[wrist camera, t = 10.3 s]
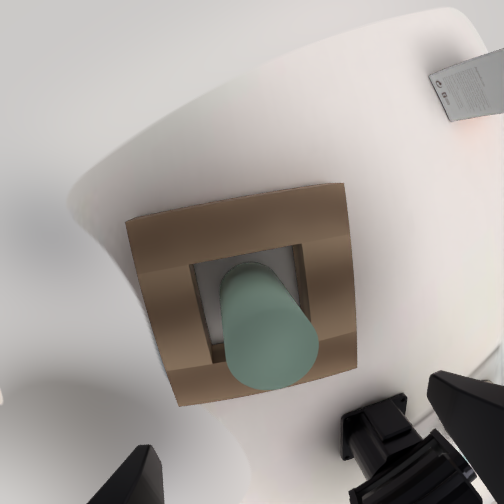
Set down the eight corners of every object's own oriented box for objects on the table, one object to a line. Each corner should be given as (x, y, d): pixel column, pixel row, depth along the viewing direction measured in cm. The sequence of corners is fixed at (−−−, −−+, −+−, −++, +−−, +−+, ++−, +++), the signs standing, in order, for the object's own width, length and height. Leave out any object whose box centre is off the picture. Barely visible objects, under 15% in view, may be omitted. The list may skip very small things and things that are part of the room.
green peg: (284, 313, 21) (321, 378, 14) (225, 325, 21) (235, 397, 13) (275, 257, 20) (314, 299, 13) (213, 269, 20) (216, 320, 12)
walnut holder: (344, 351, 23) (357, 367, 20) (181, 386, 22) (178, 406, 19) (328, 183, 20) (343, 183, 17) (135, 217, 19) (125, 222, 16)
